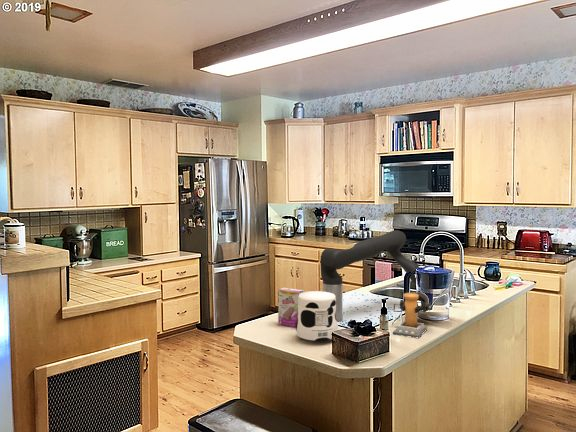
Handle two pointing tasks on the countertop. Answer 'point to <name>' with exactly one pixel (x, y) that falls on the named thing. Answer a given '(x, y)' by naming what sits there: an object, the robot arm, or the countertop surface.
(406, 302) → the orange flared cylinder
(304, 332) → the milk container
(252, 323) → the countertop surface
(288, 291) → the candy bar box
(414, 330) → the breaker panel
